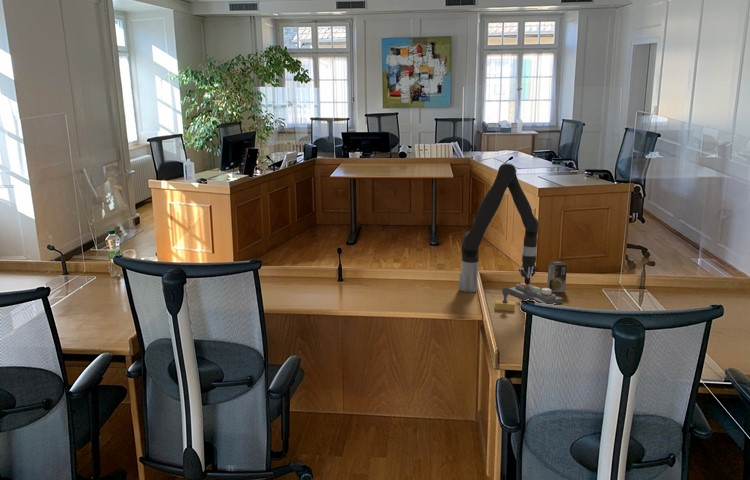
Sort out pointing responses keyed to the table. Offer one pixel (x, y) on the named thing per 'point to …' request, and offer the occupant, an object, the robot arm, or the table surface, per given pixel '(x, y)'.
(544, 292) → the cream button
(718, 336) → the table surface
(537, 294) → the console
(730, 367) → the table surface
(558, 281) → the coffee box
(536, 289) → the sage button
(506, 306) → the rubber stamp
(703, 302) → the table surface
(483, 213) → the robot arm
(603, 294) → the table surface
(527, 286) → the terracotta button
